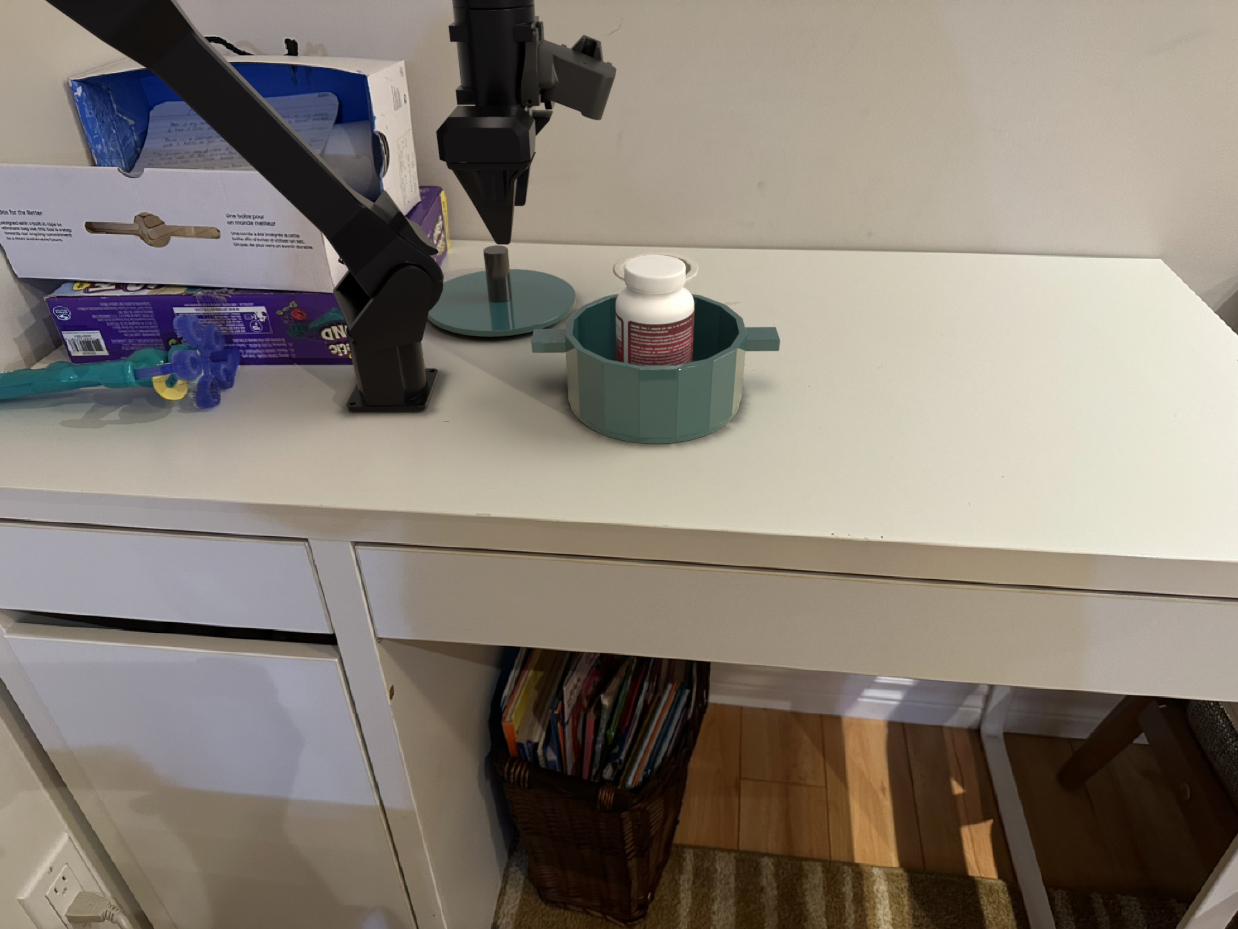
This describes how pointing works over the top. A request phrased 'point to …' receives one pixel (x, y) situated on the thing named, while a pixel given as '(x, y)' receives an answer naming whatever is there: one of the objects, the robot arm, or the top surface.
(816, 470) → the top surface
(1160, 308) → the top surface
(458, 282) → the lid
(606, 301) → the teal cooking pot
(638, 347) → the pill bottle
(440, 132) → the robot arm
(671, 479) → the top surface
